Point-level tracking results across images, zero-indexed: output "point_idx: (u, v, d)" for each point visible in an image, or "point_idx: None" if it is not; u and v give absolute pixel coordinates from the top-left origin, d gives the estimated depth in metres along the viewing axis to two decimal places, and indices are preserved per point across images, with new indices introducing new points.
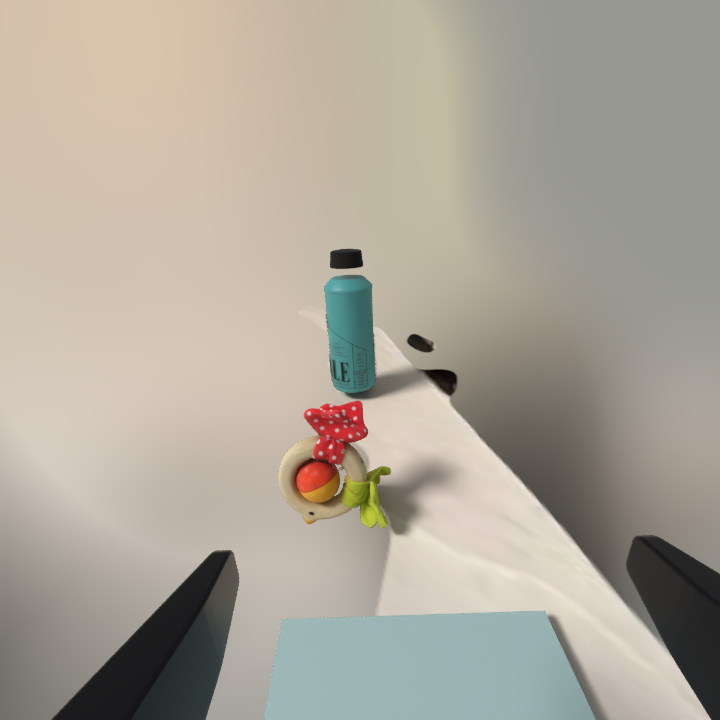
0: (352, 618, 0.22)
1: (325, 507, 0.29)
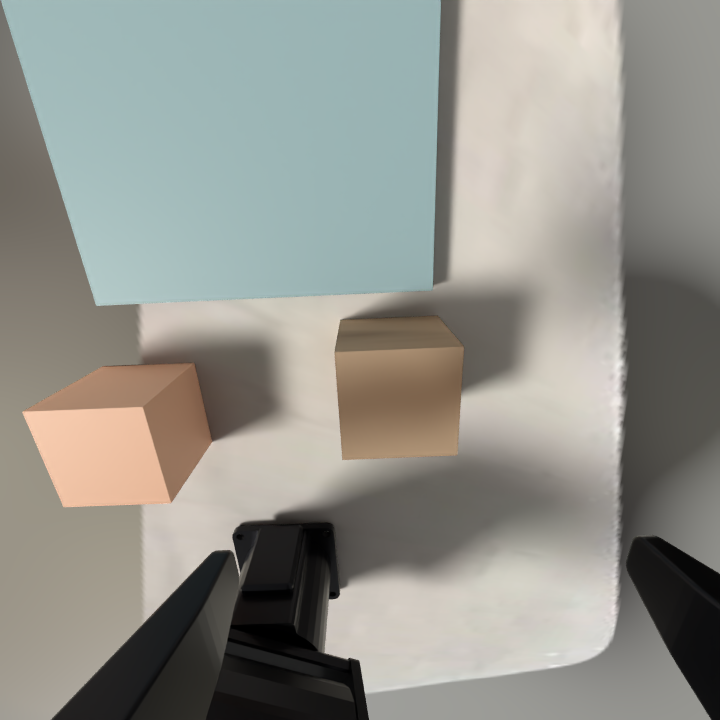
0: None
1: None
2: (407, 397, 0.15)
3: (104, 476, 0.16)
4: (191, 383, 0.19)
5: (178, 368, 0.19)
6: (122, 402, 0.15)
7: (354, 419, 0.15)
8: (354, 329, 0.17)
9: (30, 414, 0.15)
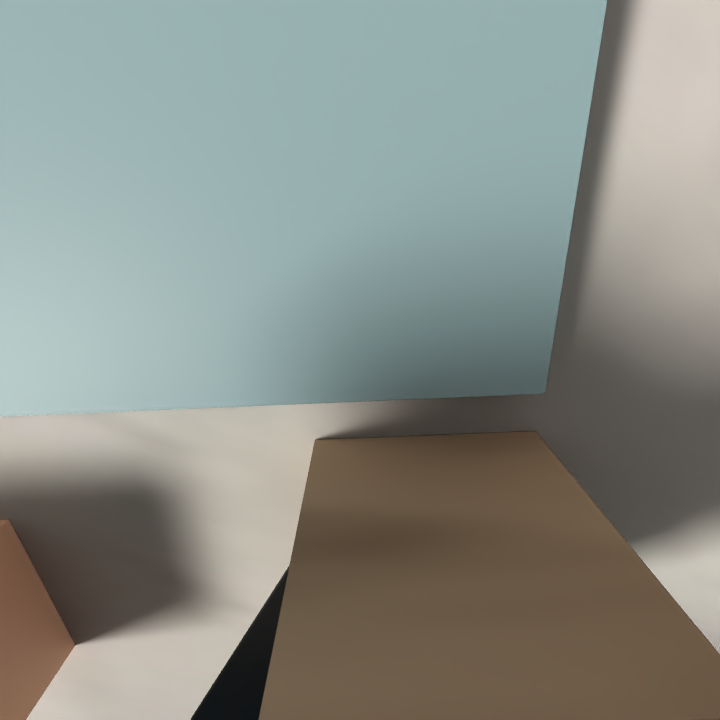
0: None
1: None
2: None
3: None
4: None
5: None
6: None
7: None
8: (343, 502, 0.06)
9: None
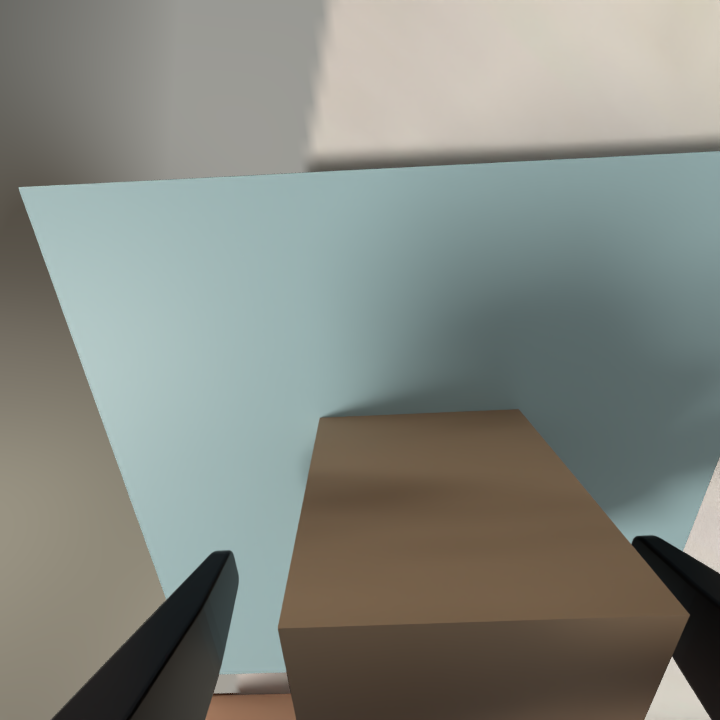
0: (235, 180, 0.07)
1: None
2: (494, 716, 0.05)
3: None
4: None
5: (288, 718, 0.14)
6: None
7: None
8: (346, 466, 0.07)
9: None
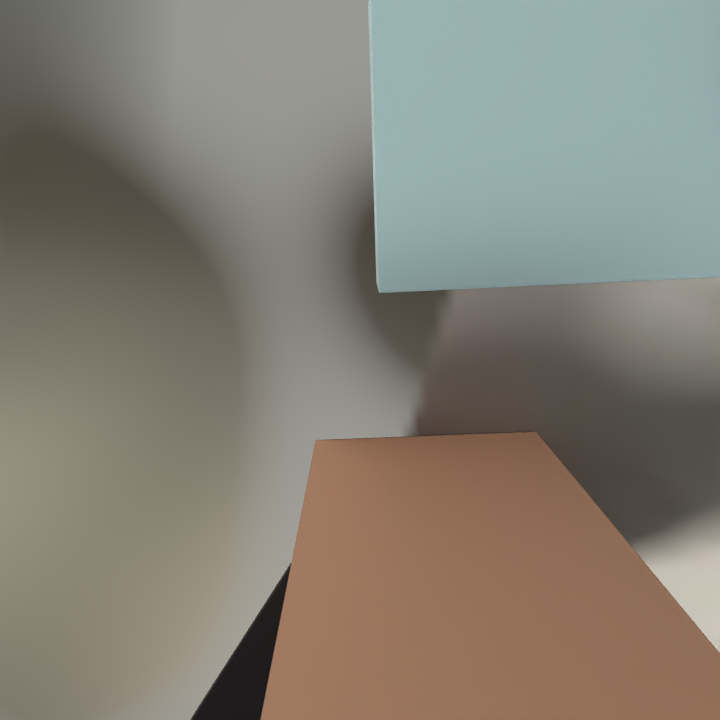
0: None
1: None
2: None
3: None
4: None
5: (531, 456, 0.07)
6: (624, 665, 0.04)
7: None
8: None
9: None
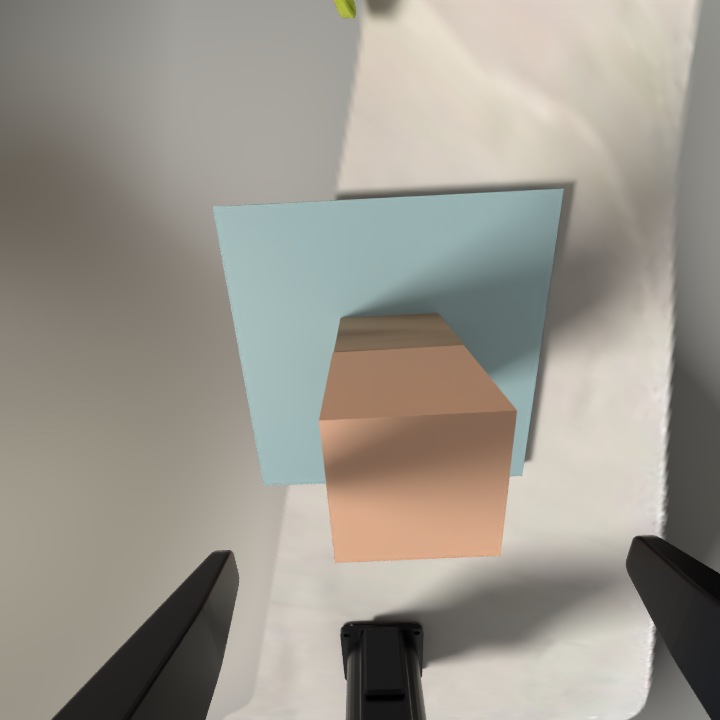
0: (306, 203, 0.16)
1: None
2: None
3: (413, 518, 0.10)
4: None
5: (456, 354, 0.13)
6: (467, 403, 0.09)
7: None
8: (354, 327, 0.17)
9: (329, 424, 0.09)
